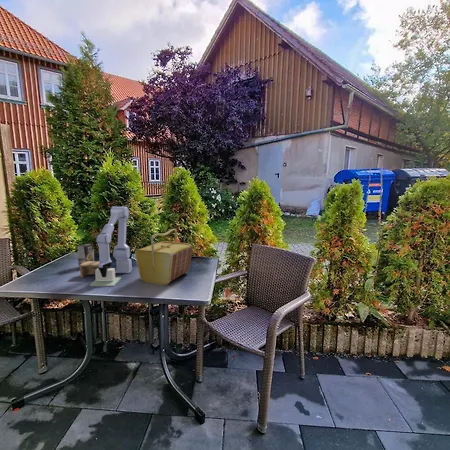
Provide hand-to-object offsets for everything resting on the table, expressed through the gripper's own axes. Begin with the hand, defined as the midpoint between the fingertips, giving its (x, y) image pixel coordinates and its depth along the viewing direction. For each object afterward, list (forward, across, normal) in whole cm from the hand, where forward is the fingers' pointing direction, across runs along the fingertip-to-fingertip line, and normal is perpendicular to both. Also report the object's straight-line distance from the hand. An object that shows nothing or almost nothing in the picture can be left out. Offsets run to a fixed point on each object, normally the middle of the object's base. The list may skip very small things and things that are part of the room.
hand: (105, 275), depth 177 cm
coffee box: (+4, +31, +24) cm, 40 cm away
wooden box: (+4, +12, +12) cm, 17 cm away
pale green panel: (+4, 0, 0) cm, 4 cm away
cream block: (+2, 0, 0) cm, 2 cm away
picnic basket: (+4, +9, -34) cm, 36 cm away
